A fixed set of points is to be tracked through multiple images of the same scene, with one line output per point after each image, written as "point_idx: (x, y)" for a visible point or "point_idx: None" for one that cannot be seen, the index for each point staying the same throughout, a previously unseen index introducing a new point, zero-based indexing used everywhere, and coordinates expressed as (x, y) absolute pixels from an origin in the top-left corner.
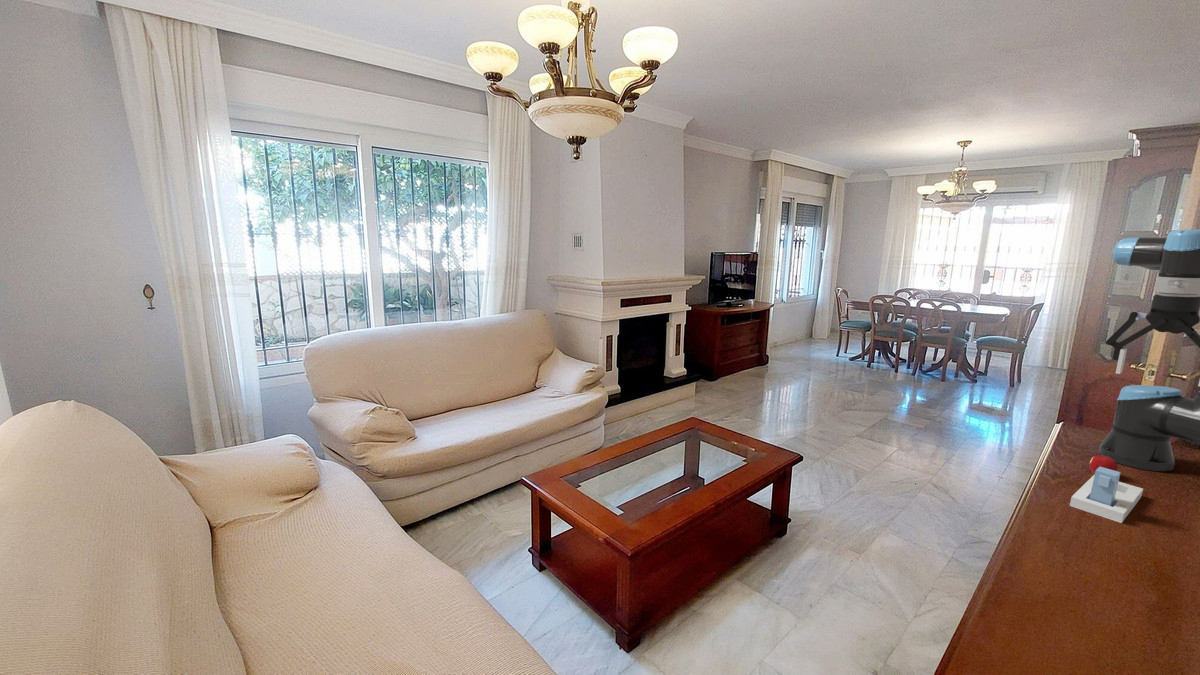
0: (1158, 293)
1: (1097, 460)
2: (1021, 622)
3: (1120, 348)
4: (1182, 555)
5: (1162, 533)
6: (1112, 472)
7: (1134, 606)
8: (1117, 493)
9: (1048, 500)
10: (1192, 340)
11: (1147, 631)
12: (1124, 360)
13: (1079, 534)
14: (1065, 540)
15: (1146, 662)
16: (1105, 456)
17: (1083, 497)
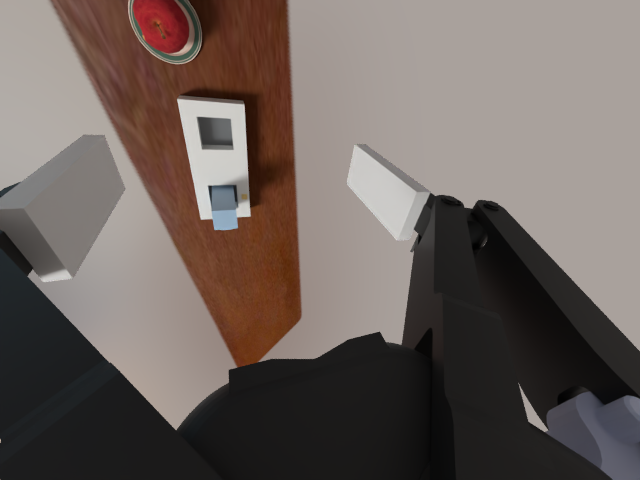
0: None
1: (155, 44)
2: (248, 348)
3: (24, 270)
4: (293, 223)
5: (277, 193)
6: (230, 219)
7: (280, 303)
8: (228, 159)
9: (178, 211)
10: (405, 320)
11: (287, 314)
12: (78, 169)
13: (232, 255)
14: (229, 272)
15: (289, 329)
16: (156, 12)
17: (209, 209)
